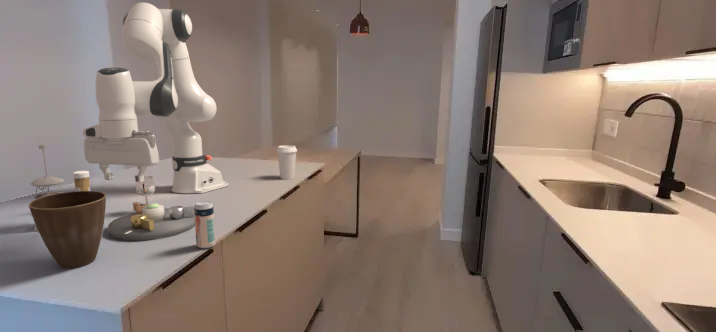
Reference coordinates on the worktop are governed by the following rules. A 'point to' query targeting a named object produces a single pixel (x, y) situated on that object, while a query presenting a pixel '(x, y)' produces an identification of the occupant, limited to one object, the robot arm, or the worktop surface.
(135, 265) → the worktop surface
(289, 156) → the coffee cup
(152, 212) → the tribrach
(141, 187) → the wineglass
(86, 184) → the sprinkles bottle
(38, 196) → the vented spool lamp
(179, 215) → the knob steel
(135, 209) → the knob copper
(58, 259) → the plant pot
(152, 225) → the knob brass
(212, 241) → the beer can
